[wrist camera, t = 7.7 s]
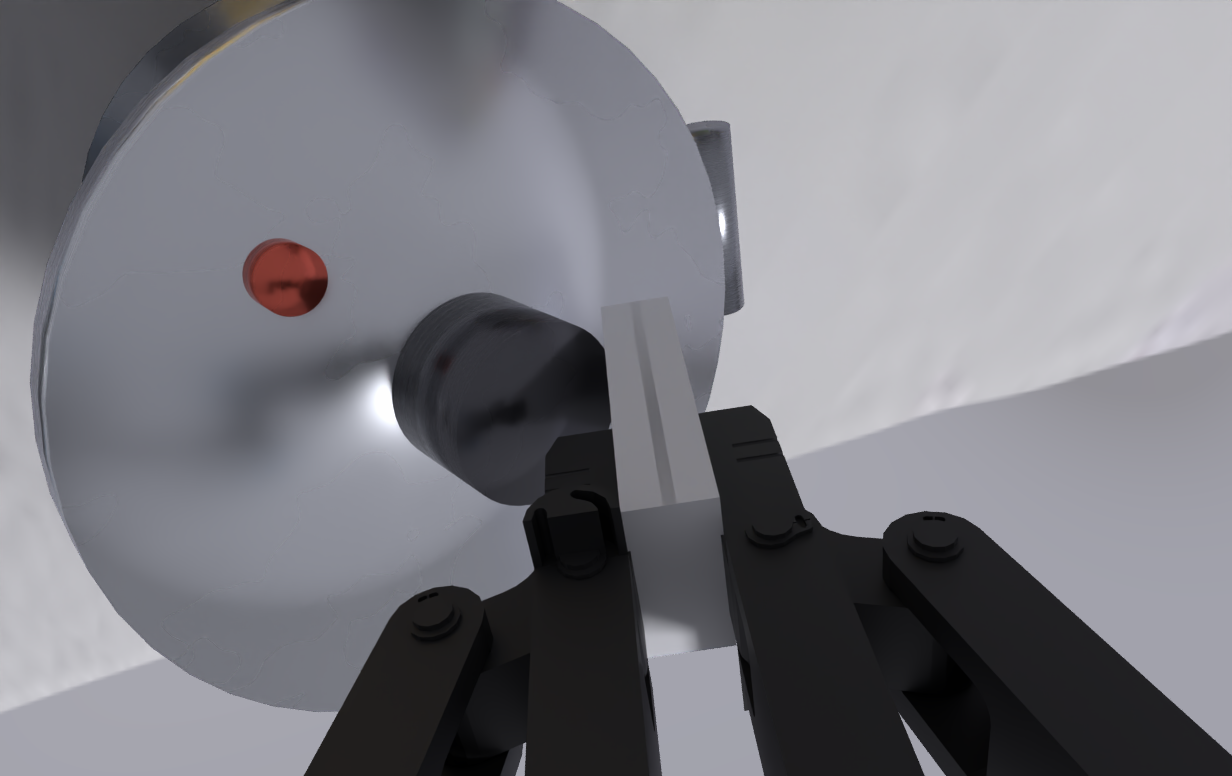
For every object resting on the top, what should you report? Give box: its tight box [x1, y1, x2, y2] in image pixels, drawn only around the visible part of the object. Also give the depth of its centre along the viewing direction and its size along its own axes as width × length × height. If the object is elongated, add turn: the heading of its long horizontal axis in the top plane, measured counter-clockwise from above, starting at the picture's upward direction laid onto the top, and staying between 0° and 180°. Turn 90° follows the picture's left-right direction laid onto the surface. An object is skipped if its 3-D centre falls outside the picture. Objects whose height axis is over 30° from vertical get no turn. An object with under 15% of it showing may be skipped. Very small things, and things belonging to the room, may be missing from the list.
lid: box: [30, 0, 725, 712], centre depth 18 cm, size 15×15×4 cm
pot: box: [82, 0, 744, 315], centre depth 28 cm, size 17×22×10 cm
